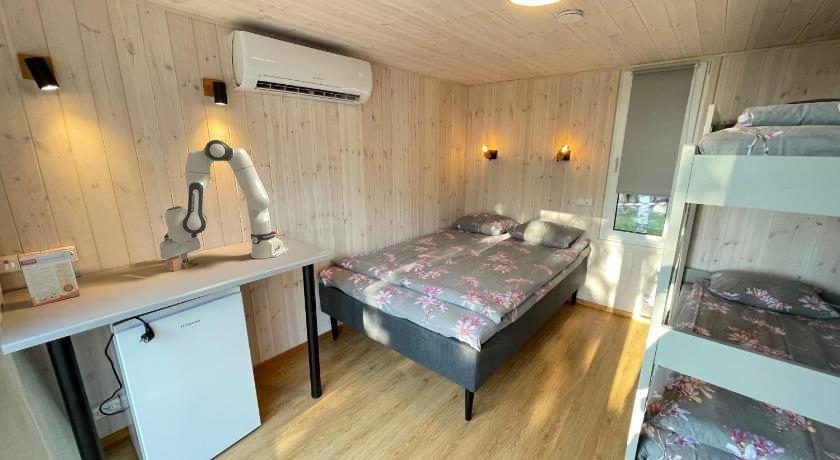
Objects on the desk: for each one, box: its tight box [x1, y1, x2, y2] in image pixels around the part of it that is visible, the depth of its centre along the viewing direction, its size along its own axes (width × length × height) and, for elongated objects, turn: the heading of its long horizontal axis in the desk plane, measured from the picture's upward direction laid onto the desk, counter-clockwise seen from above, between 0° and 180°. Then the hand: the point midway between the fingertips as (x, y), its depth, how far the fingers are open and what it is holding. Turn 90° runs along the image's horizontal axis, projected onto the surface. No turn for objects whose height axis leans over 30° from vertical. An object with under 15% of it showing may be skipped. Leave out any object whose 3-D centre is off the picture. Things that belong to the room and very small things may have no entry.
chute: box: [182, 257, 199, 270], centre depth 183 cm, size 15×9×4 cm, turn 163°
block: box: [164, 257, 184, 272], centre depth 180 cm, size 5×5×6 cm
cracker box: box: [18, 248, 81, 307], centre depth 144 cm, size 14×6×21 cm, turn 141°
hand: (183, 261), depth 185 cm, fingers closed
